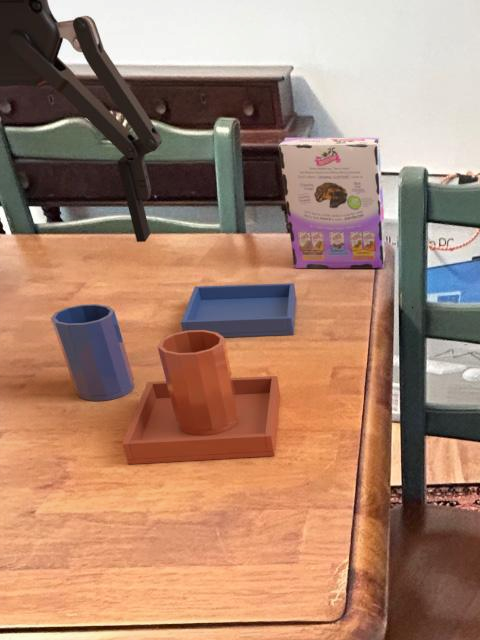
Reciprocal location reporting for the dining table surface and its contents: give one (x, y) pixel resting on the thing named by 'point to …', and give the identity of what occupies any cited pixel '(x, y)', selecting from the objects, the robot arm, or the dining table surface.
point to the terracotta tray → (176, 445)
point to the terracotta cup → (199, 381)
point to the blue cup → (94, 351)
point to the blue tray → (242, 310)
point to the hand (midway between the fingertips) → (68, 240)
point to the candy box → (334, 201)
